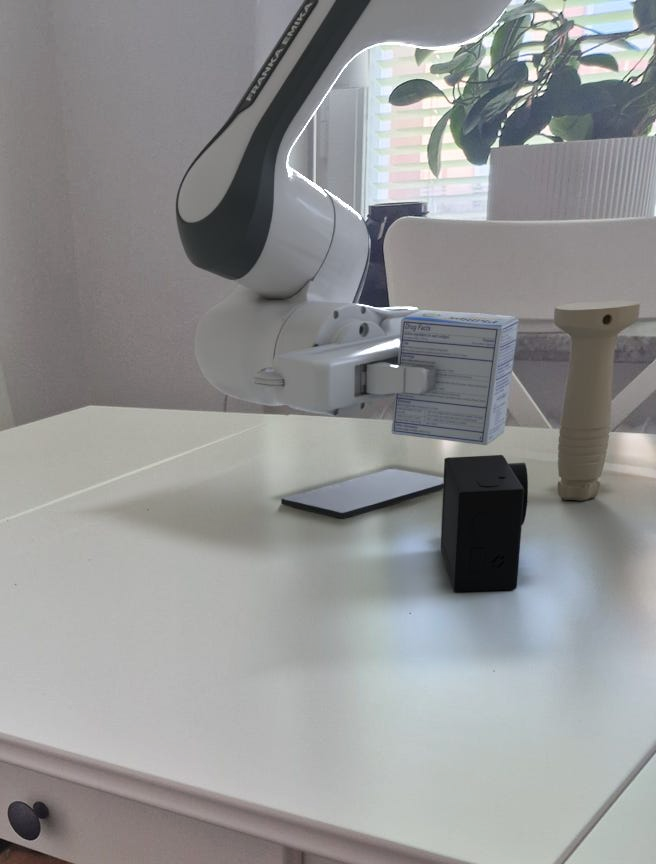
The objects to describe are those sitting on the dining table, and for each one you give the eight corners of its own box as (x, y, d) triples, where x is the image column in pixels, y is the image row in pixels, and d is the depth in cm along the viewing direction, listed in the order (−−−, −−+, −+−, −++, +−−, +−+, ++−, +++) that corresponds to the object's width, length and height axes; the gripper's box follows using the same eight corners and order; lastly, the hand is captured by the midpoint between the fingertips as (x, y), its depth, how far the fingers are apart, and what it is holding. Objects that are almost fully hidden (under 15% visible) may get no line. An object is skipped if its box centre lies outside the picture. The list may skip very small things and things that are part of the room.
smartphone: (391, 473, 111) (391, 468, 111) (455, 485, 106) (455, 480, 105) (281, 504, 105) (280, 498, 104) (343, 518, 99) (342, 513, 99)
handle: (625, 500, 97) (649, 304, 90) (549, 507, 97) (567, 311, 90) (604, 487, 101) (625, 298, 94) (531, 493, 101) (546, 305, 94)
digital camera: (534, 590, 80) (543, 486, 76) (454, 593, 81) (459, 491, 77) (512, 546, 89) (520, 452, 85) (440, 549, 89) (444, 456, 86)
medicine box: (504, 435, 92) (522, 316, 87) (486, 448, 88) (503, 324, 84) (410, 424, 95) (422, 308, 90) (389, 435, 92) (400, 316, 87)
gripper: (239, 336, 92) (363, 348, 82) (419, 304, 102) (549, 311, 92) (242, 420, 95) (362, 441, 85) (417, 380, 105) (542, 395, 95)
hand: (461, 373), depth 89 cm, fingers closed on medicine box, 5 cm apart
